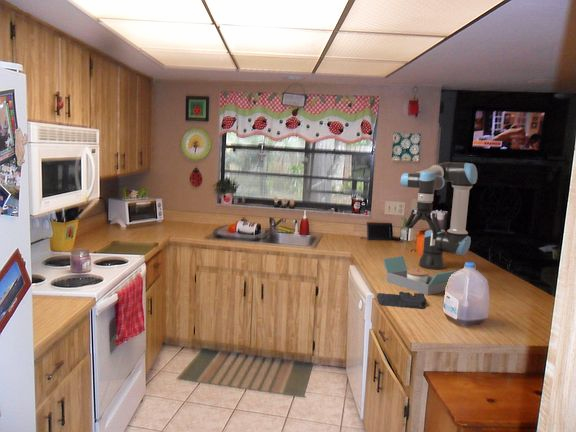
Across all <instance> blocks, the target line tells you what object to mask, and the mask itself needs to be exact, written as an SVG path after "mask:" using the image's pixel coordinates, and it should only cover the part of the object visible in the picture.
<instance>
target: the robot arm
mask: <svg viewBox="0 0 576 432" xmlns="http://www.w3.org/2000/svg"><path fill="white" fill-rule="evenodd" d="M477 169H478V168H477V167H476V165H475V164H474V163H469V162H453V161H452V162H451V161H447V162H442V163H441V162H440V163H437V164H434V165H433V164H432V165H431V166H430V167H429V168H425V169H423V170H419V171H415V172H412V173H410V172H404V173H402V174H401V176H400V185H401V186H402V187H403V188H412V189H418V193H417V204H416V208H417V209H412V210H411V212H410V213H411V214H410V215H409V217H408V219H407V220H406V222H405V225H404V226H405V227H407V235H408V242H410V241H413V239H414V230H415V228H414V226H415V225H416V224H418V222H419V221H421V220H422V221H426V223H427V224H428V225H429V228H430V229H428V230H426V231H425V232H424V237H423V238H424V239H423V248H422V249H423V250H422V254H421V256H420V258H419V263H418V265H419V267H421V268H426V269H429V270H443V269H445V261H444V256H443V253H448V254H454V255H459V256H460V255H461V256H464V255H465V254H467V253H468V251H469V249H470V246H471V242H472V241H471V236H470V235H469V232H468V231H467V230H466V228H467V217H468V209H469V208H468V206H469V198H470V197H469V196H470V190H471V189H472V188H473V185H474V184H476V183H477V181H478V170H477ZM447 182H449V183H451V187H452V188H453V195H452V196H453V197H452V208H451V216H450V225H449V226H450V227H449V229H447V231H446V230H445V229H441V226H440V222H439V220H438V213H437V212H432V211H433V206H434V205H433V202H434V194H435V190H436V191H439V190H441V189H443V188H444V186H445V184H446V183H447Z"/></svg>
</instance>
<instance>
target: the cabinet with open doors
mask: <svg viewBox="0 0 576 432" xmlns="http://www.w3.org/2000/svg"><path fill="white" fill-rule="evenodd" d="M382 261H383V265H384V267H385V270H386V273H387V274H386V275H387V276H386V282H387V283H389V284H392V285H395V286H399V287H401V288H405V289H408V290H411V291H414V292H415V293H420V294H421V293H423V294H424V296H430V295H434V294H439V293H443V291H444V290H445V287H446V285H447V282H448V279H449V277H450V276H451V274H453V273H454V272H455V273H456V272H457V270H456V269H454V270H449V271H444V272H443V271H442V272H437V273H436V274H434V276H432V275H428V278H427V282H426V284H425V283H422V282H418V281H415V280H412V279H409V278H407V270H408V268H407V265H406V261H405V258H404V256H402V255H401V256H395V257H389V258H387V257H386V258H383V259H382ZM455 273H454V274H455ZM448 283H449V282H448ZM444 292H445V291H444Z"/></svg>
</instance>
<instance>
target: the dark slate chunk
mask: <svg viewBox="0 0 576 432" xmlns="http://www.w3.org/2000/svg"><path fill="white" fill-rule="evenodd" d="M376 298H377V302H378V305H380V306H384V307H393V308H395V307H396V308H403V309H404V308H405V309H418V310H425V309H427V307H426V304H427V303H428V302H427V301H428V300H427V299H426V297H425V294H423V293H419V292H415V293H413V294H412V293H410V292H404V291H399V292H398V294H395V293H394V294H393V293H385V292H383V293H381V292H378V293H376Z"/></svg>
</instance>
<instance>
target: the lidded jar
mask: <svg viewBox="0 0 576 432" xmlns="http://www.w3.org/2000/svg"><path fill="white" fill-rule="evenodd" d="M428 276H429V272H428V271H426V270H423V269H419V268H416V269H415V268H412V269H411V268H410V269H407V278H409V279H412V280H415V281H418V282H422V283H425V284H426V282H427V278H428Z"/></svg>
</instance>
